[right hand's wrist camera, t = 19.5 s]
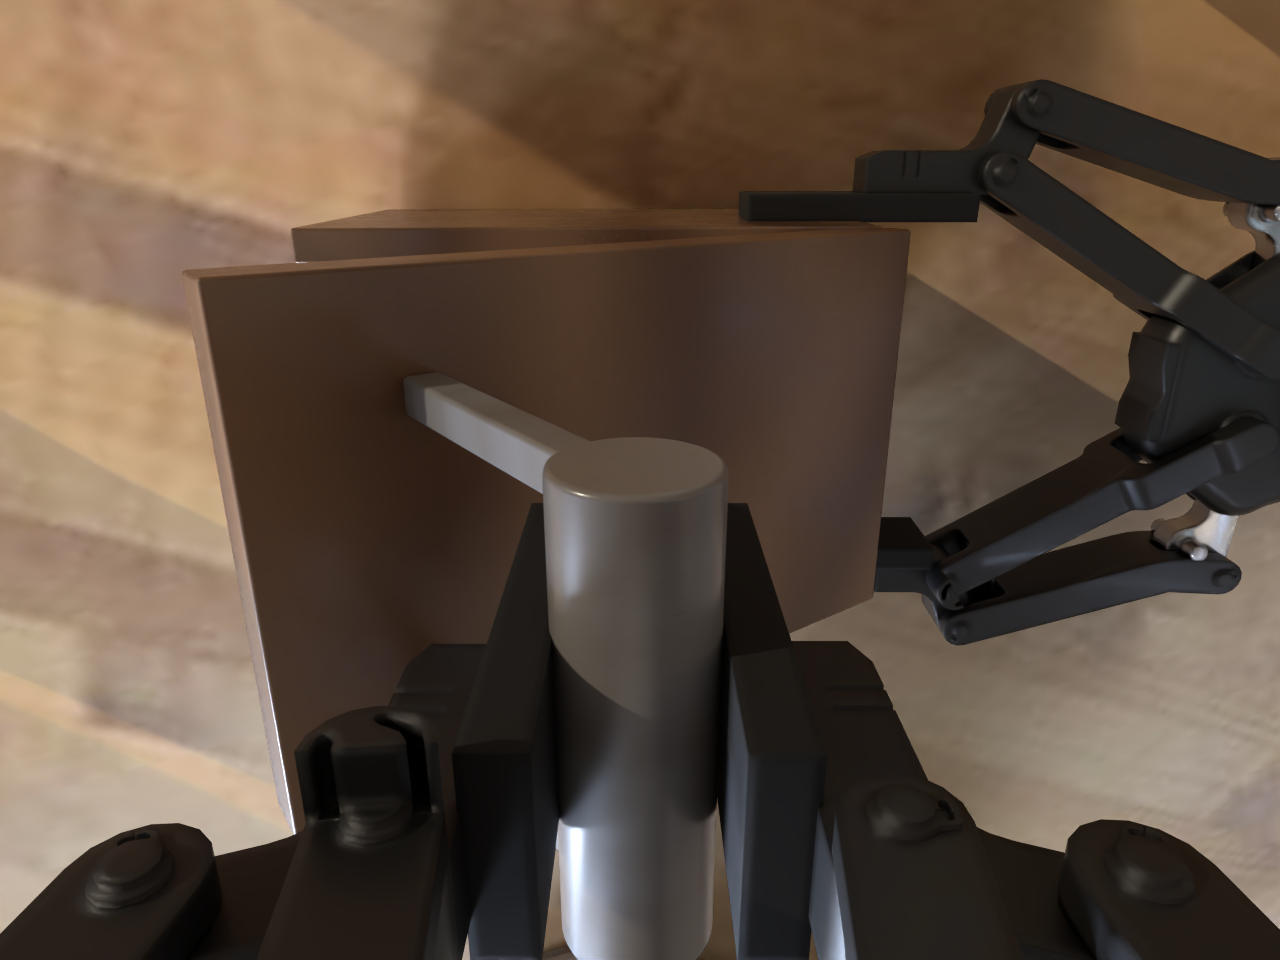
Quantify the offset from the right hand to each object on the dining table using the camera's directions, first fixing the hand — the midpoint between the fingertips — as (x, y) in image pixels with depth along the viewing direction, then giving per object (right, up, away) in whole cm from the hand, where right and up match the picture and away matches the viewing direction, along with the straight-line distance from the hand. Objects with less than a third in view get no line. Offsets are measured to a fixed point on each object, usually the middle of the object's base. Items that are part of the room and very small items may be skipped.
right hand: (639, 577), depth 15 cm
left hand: (+3, +5, +13) cm, 14 cm away
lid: (-1, +2, +5) cm, 5 cm away
